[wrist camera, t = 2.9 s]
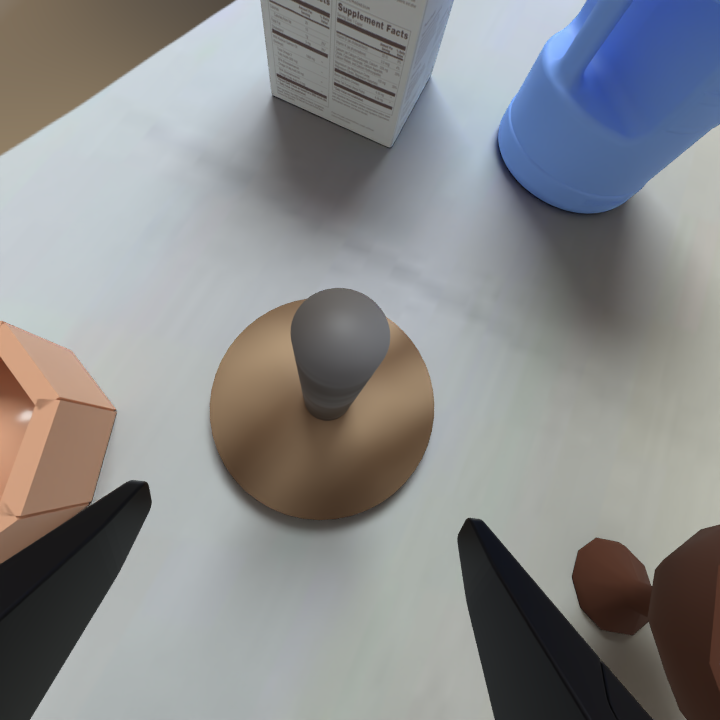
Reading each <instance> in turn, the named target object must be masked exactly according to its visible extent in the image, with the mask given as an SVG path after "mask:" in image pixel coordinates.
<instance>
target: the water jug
mask: <svg viewBox="0 0 720 720" xmlns="http://www.w3.org/2000/svg"><path fill="white" fill-rule="evenodd" d="M719 124H720V0H587V1H586V3H585V4H584V6H583V8H582V9H581V11H580V12H579V14H578V15H577V16H576V17H575V19H574V20H573V21H572V22H571V23H570V24H569V25H568V26H567V27H566V28H564V29H563V30H562V31H560V32H558V33H556V34H555V35H553V36H552V37H551V38H550V39H549V40H548V41H547V42H546V44H545V45H544V47H543V49H542V51H541V52H540V54H539V56H538V58H537V59H536V61H535V63H534V65H533V67H532V68H531V70H530V72H529V74H528V76H527V77H526V79H525V81H524V83H523V85H522V86H521V88H520V90H519V92H518V93H517V94H516V95H515V97H514V98H513V99H512V101H511V103H510V105H509V107H508V108H507V110H506V112H505V114H504V116H503V118H502V120H501V123H500V127H499V133H498V141H499V148H500V152H501V155H502V158H503V160H504V162H505V164H506V166H507V167H508V169H509V171H510V172H511V173H512V175H513V176H514V177H515V178H516V180H517V181H518V182H519V183H520V184H521V185H522V186H523V187H524V188H525V189H527V190H528V191H529V192H530V193H532V194H533V195H534V196H536V197H537V198H539V199H541V200H542V201H544V202H546V203H548V204H550V205H552V206H555V207H557V208H560V209H563V210H566V211H571V212H576V213H588V214H589V213H600V212H605V211H608V210H611V209H614V208H616V207H618V206H620V205H621V204H623V203H624V202H626V201H627V200H628V199H629V198H631V197H632V196H633V195H634V194H636V193H637V192H638V191H639V190H640V189H642V188H643V187H644V185H645V184H646V183H647V182H648V181H649V180H650V179H651V178H653V177H654V176H655V175H656V174H658V173H659V172H660V171H661V170H662V169H664V168H665V167H666V166H667V165H668V164H670V163H671V162H672V161H673V160H675V159H676V158H677V157H678V156H679V155H681V154H682V153H683V152H684V151H686V150H687V149H688V148H689V147H690V146H692V145H693V144H694V143H695V142H696V141H698V140H699V139H700V138H701V137H703V136H704V135H705V134H706V133H707V132H709V131H710V130H711V129H712V128H714V127H716V126H718V125H719Z"/></svg>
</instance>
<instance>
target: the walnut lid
mask: <svg viewBox="0 0 720 720" xmlns="http://www.w3.org/2000/svg"><path fill="white" fill-rule="evenodd" d="M433 419H434V397H433V388H432V384H431V380H430V376H429V373H428V370H427V367H426V365H425V363H424V361H423V359H422V357H421V355H420V353H419V351H418V350H417V348H416V347H415V345H414V344H413V342H412V341H411V340H410V338H409V337H408V336H407V335H406V334H405V333H404V331H402V330H401V329H400V328H399V327H398V326H397V325H396V324H395V323H394V322H392V321H391V320H390V319H388V318H387V317H386V316H385V314H384V313H383V311H382V310H381V308H380V307H379V306H378V305H377V304H376V303H375V302H374V301H373V300H372V299H370V298H369V297H367V296H366V295H364V294H362V293H360V292H357V291H354V290H351V289H345V288H332V289H327V290H323V291H320V292H318V293H315V294H314V295H312V296H310V297H309V298H308V299H304V300H299V301H294V302H291V303H288V304H285V305H282V306H280V307H278V308H275V309H273V310H271V311H269V312H267V313H266V314H264V315H263V316H261V317H259V318H258V319H256V320H255V321H254V322H253V323H251V324H250V325H249V326H248V327H247V328H246V329H245V330H244V331H243V332H242V333H241V334H240V335H239V336H238V337H237V338H236V339H235V341H234V342H233V343H232V344H231V346H230V347H229V348H228V350H227V352H226V354H225V355H224V357H223V359H222V361H221V363H220V365H219V368H218V370H217V373H216V375H215V379H214V383H213V386H212V391H211V400H210V422H211V428H212V434H213V438H214V441H215V444H216V448H217V451H218V453H219V455H220V457H221V459H222V461H223V463H224V465H225V467H226V468H227V469H228V471H229V472H230V474H231V475H232V477H233V478H234V479H235V480H236V482H237V483H238V484H239V485H240V486H241V487H242V488H243V489H244V490H245V491H246V492H247V493H249V494H250V495H251V496H252V497H254V498H255V499H256V500H257V501H259V502H261V503H262V504H264V505H266V506H268V507H269V508H271V509H273V510H276V511H278V512H281V513H283V514H286V515H289V516H294V517H298V518H302V519H313V520H329V519H339V518H343V517H348V516H352V515H355V514H358V513H361V512H364V511H366V510H368V509H370V508H372V507H374V506H376V505H378V504H380V503H381V502H383V501H384V500H386V499H387V498H388V497H390V496H391V495H392V494H394V493H395V492H396V491H397V490H398V489H399V488H400V487H401V486H402V485H403V484H404V483H405V482H406V481H407V480H408V478H409V477H410V476H411V475H412V473H413V472H414V471H415V469H416V467H417V466H418V464H419V462H420V461H421V459H422V457H423V455H424V452H425V450H426V448H427V446H428V442H429V439H430V435H431V432H432V426H433Z"/></svg>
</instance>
